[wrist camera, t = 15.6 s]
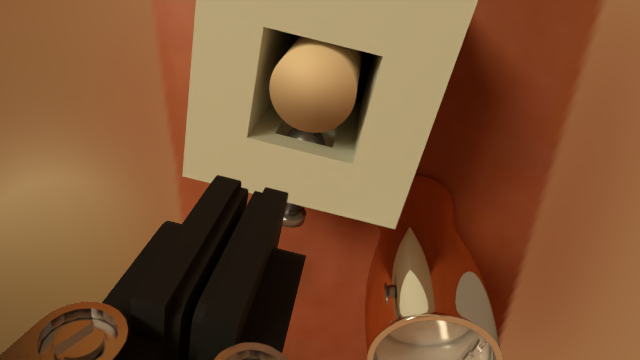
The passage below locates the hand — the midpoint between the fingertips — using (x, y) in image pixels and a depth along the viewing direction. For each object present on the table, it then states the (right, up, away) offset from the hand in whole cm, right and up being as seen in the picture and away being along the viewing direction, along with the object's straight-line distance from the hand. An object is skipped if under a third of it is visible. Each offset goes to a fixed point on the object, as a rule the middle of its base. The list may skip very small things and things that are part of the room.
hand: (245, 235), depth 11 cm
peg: (+3, +10, +20) cm, 22 cm away
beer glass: (+9, -1, +25) cm, 26 cm away
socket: (+3, +10, +20) cm, 22 cm away
